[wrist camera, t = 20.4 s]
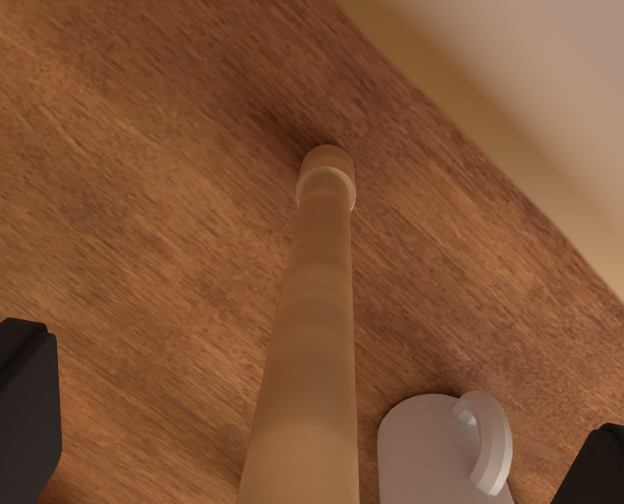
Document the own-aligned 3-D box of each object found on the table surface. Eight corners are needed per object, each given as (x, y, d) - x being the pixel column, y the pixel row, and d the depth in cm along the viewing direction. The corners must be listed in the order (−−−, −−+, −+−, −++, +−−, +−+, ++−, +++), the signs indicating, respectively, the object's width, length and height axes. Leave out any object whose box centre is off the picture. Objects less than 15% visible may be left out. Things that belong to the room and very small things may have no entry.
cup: (358, 454, 36) (359, 578, 28) (427, 338, 33) (453, 442, 24) (453, 491, 37) (482, 622, 29) (532, 382, 33) (591, 497, 25)
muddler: (304, 140, 28) (207, 508, 8) (358, 148, 28) (399, 536, 8) (297, 191, 29) (197, 623, 9) (349, 199, 29) (362, 648, 9)
